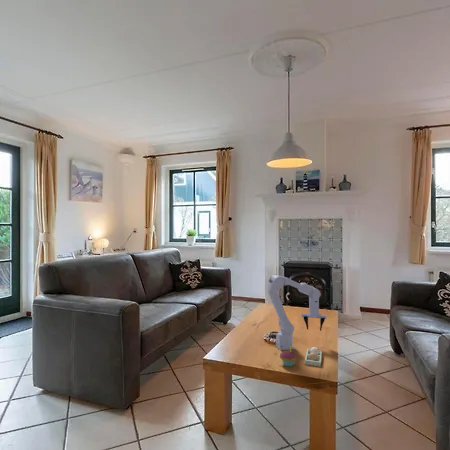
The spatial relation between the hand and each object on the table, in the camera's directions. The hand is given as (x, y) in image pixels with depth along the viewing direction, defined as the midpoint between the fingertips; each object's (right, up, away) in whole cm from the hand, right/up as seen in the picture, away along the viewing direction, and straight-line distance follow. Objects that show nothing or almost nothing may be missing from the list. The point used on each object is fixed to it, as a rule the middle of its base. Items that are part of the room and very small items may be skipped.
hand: (314, 329), depth 189 cm
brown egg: (-7, -9, -24) cm, 27 cm away
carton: (-6, -10, -21) cm, 23 cm away
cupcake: (-21, -10, -27) cm, 35 cm away
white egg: (-5, -9, -17) cm, 20 cm away
